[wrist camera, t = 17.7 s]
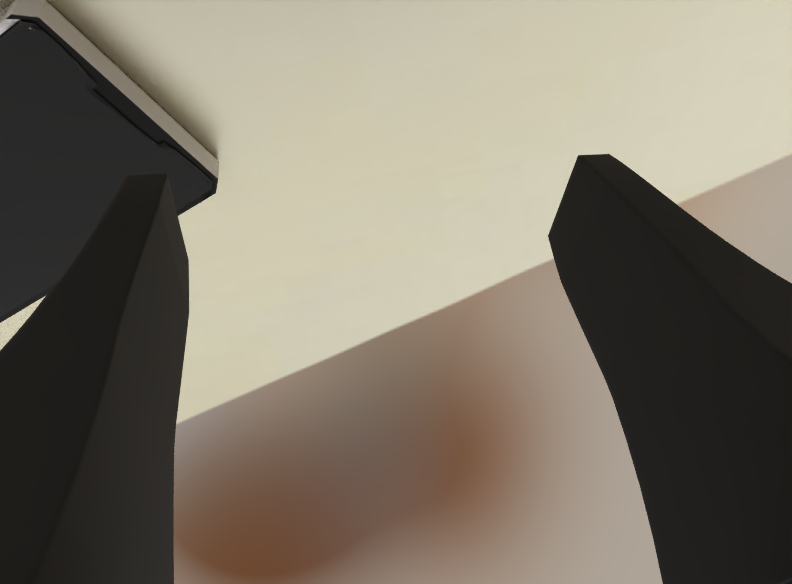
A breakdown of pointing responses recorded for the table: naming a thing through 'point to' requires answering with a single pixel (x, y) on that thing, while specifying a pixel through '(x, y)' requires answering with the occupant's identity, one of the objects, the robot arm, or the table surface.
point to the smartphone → (73, 148)
